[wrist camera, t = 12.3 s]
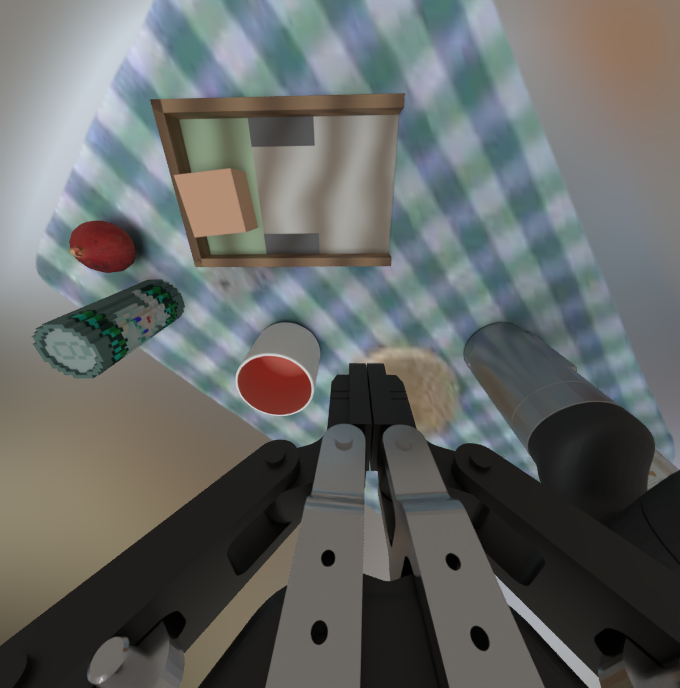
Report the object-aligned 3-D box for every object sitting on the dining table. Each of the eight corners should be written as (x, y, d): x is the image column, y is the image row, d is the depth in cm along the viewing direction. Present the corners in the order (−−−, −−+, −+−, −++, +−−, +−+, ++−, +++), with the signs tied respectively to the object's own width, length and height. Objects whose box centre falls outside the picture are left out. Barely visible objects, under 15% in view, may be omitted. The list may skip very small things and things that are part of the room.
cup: (258, 314, 40) (233, 347, 31) (324, 324, 40) (318, 360, 32) (258, 368, 45) (236, 410, 36) (317, 377, 45) (309, 421, 37)
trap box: (399, 103, 28) (404, 93, 25) (387, 260, 36) (390, 265, 33) (168, 108, 28) (150, 99, 26) (206, 261, 36) (195, 266, 34)
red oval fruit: (157, 262, 36) (112, 278, 29) (119, 267, 37) (65, 284, 30) (136, 215, 34) (80, 220, 27) (95, 222, 34) (29, 228, 27)
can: (188, 319, 41) (112, 378, 27) (149, 319, 41) (55, 378, 28) (176, 279, 38) (83, 324, 24) (134, 280, 38) (20, 324, 25)
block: (245, 171, 31) (230, 168, 27) (258, 227, 34) (246, 232, 30) (195, 177, 31) (173, 175, 27) (212, 232, 34) (194, 237, 30)
